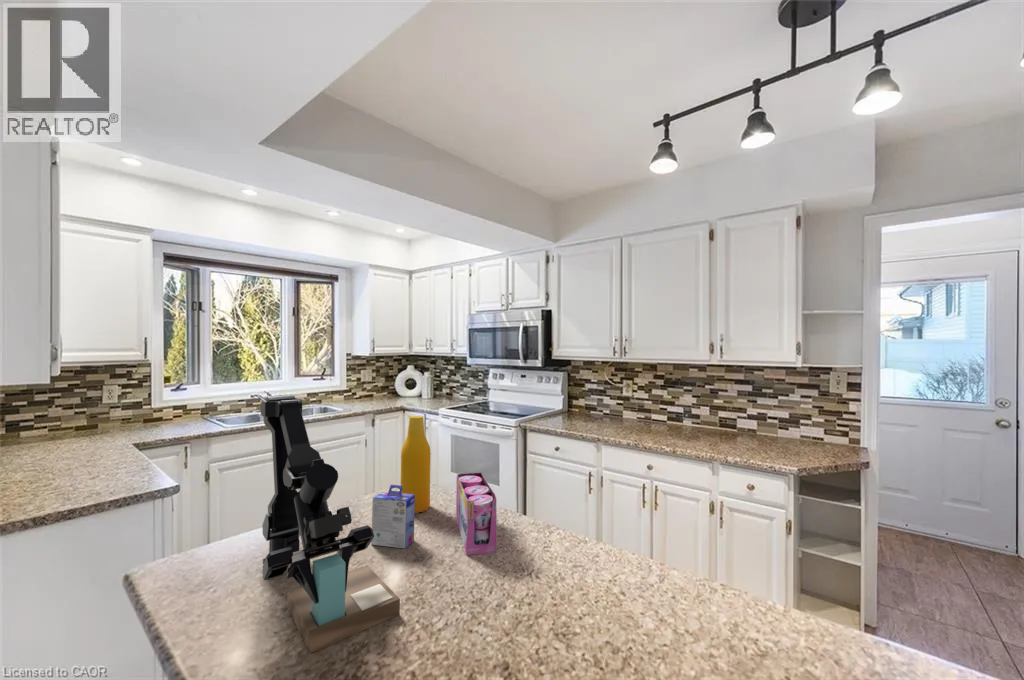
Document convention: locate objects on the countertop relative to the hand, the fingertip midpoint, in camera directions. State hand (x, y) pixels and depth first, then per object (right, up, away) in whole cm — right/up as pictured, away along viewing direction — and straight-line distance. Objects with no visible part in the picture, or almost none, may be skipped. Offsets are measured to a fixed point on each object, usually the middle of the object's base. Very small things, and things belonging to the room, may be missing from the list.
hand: (330, 597), depth 75 cm
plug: (-1, -7, +1) cm, 7 cm away
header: (-1, -7, +7) cm, 9 cm away
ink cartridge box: (+1, -7, +35) cm, 36 cm away
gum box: (+22, -8, +40) cm, 47 cm away
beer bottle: (+2, -7, +58) cm, 58 cm away
